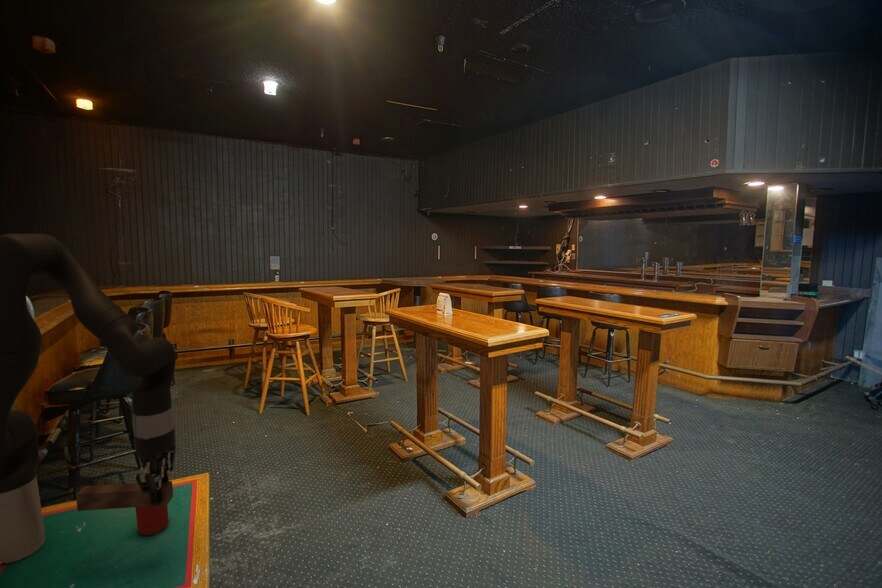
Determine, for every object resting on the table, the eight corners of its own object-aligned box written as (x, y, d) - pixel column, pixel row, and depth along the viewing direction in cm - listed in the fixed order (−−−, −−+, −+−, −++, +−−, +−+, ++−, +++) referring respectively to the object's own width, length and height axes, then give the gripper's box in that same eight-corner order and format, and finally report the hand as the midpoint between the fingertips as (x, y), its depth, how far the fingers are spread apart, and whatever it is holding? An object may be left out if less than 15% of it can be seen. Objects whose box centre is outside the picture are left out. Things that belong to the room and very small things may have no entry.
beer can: (153, 538, 105) (149, 494, 103) (131, 534, 106) (126, 490, 104) (175, 520, 112) (171, 478, 110) (153, 516, 113) (149, 474, 111)
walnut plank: (77, 511, 94) (75, 494, 93) (86, 502, 97) (84, 486, 96) (167, 505, 97) (166, 489, 96) (173, 496, 100) (172, 481, 99)
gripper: (151, 414, 101) (157, 481, 104) (117, 445, 88) (125, 521, 91) (186, 413, 103) (190, 479, 105) (157, 443, 89) (163, 518, 92)
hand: (160, 498), depth 98 cm, fingers closed on walnut plank, 3 cm apart
